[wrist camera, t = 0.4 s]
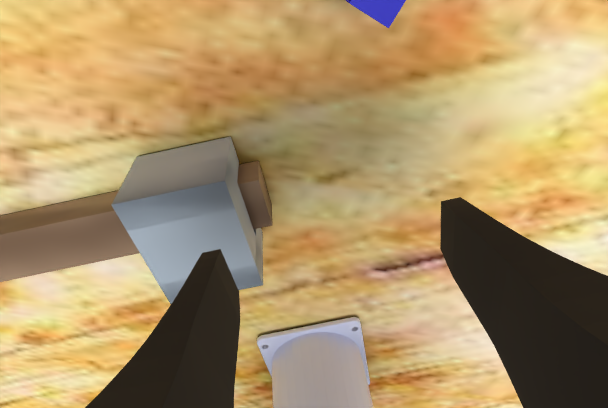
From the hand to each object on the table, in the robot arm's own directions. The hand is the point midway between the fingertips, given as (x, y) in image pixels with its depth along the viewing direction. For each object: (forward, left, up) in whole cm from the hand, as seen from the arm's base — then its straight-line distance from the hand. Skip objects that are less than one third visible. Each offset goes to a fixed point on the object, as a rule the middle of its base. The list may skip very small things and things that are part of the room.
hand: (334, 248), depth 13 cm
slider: (-3, +6, -9) cm, 12 cm away
